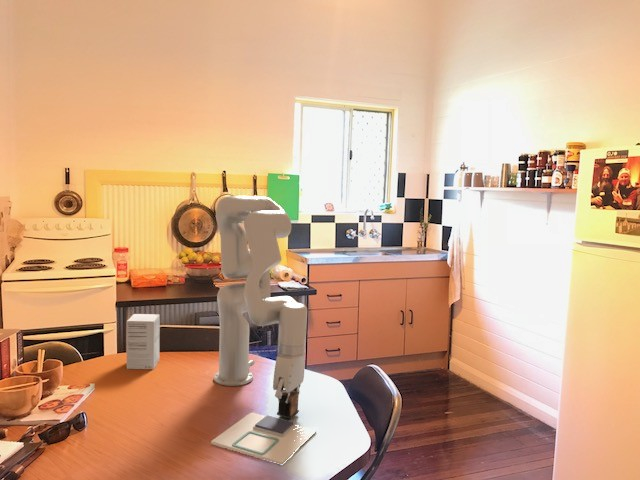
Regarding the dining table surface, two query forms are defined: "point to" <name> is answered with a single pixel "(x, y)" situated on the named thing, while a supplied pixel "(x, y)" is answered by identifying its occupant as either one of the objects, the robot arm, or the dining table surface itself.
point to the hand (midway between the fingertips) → (288, 410)
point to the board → (262, 437)
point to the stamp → (292, 404)
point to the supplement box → (143, 341)
